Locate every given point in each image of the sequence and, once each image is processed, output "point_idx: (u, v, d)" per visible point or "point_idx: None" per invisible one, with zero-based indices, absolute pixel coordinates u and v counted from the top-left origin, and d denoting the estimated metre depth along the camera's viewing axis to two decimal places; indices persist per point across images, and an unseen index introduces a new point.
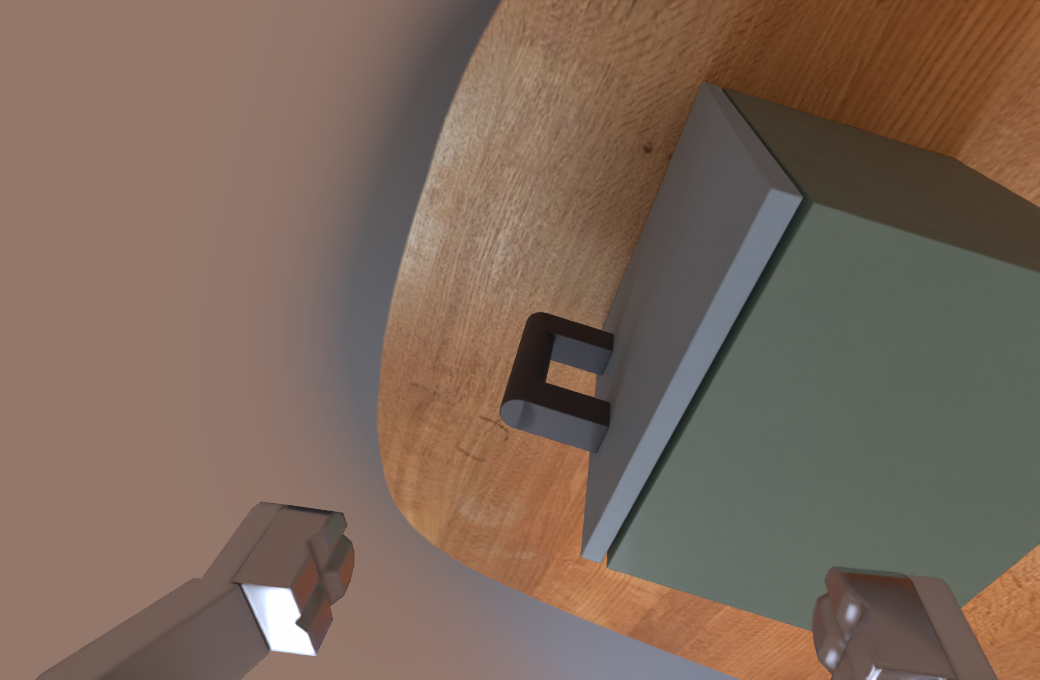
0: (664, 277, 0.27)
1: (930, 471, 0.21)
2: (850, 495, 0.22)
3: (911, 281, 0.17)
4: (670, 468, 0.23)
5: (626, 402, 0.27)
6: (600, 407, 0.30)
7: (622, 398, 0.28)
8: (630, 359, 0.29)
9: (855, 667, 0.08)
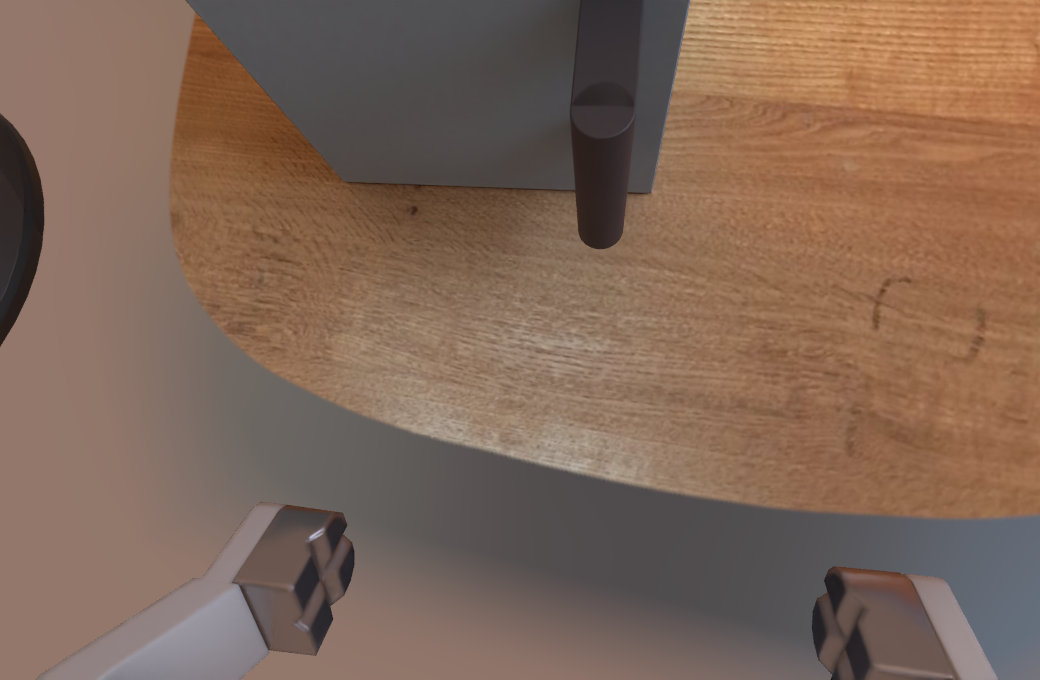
0: (386, 38, 0.22)
1: None
2: None
3: None
4: None
5: None
6: None
7: None
8: (500, 27, 0.21)
9: (855, 667, 0.08)
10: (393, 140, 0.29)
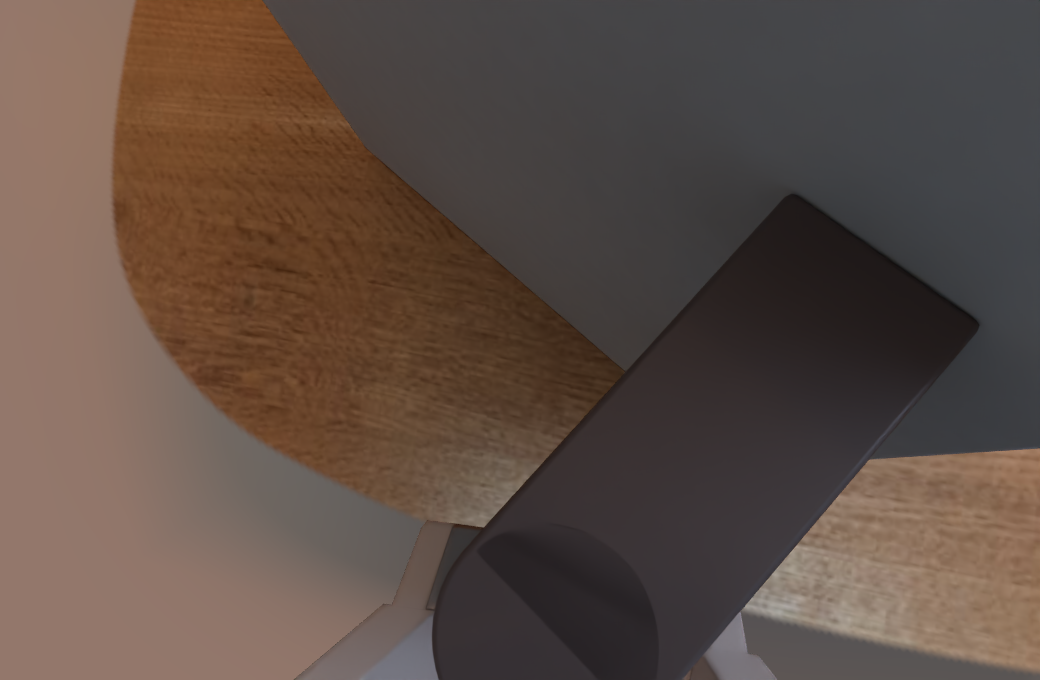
0: None
1: None
2: None
3: None
4: None
5: None
6: None
7: (635, 78, 0.06)
8: (567, 128, 0.08)
9: None
10: (410, 152, 0.17)
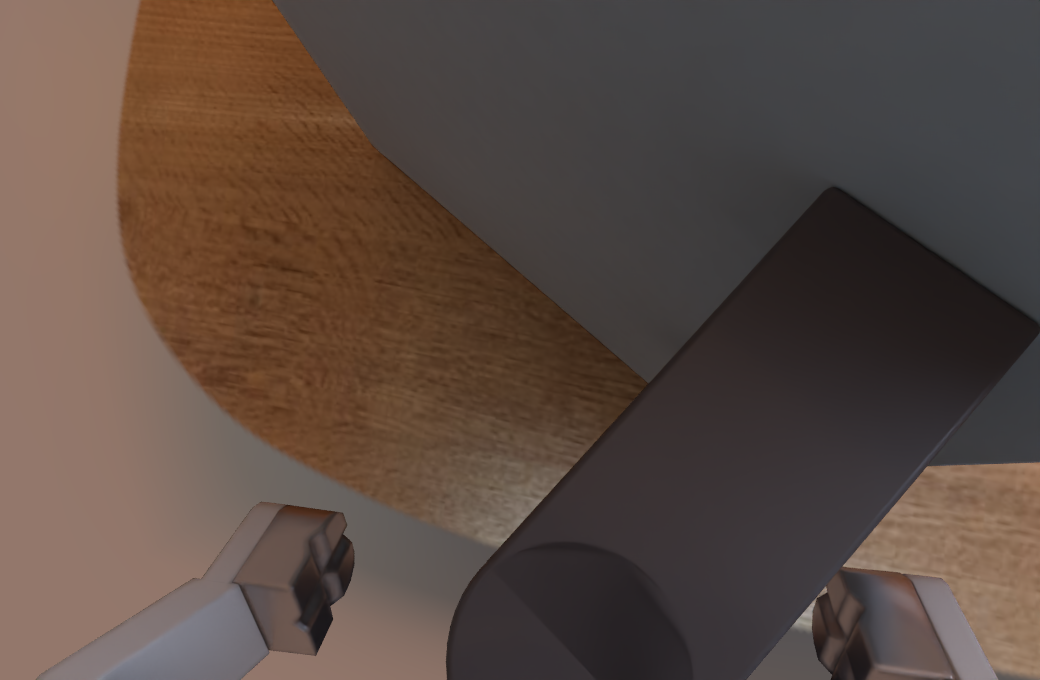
0: None
1: None
2: None
3: None
4: None
5: None
6: None
7: (662, 64, 0.06)
8: (585, 120, 0.08)
9: (855, 667, 0.08)
10: (418, 149, 0.17)
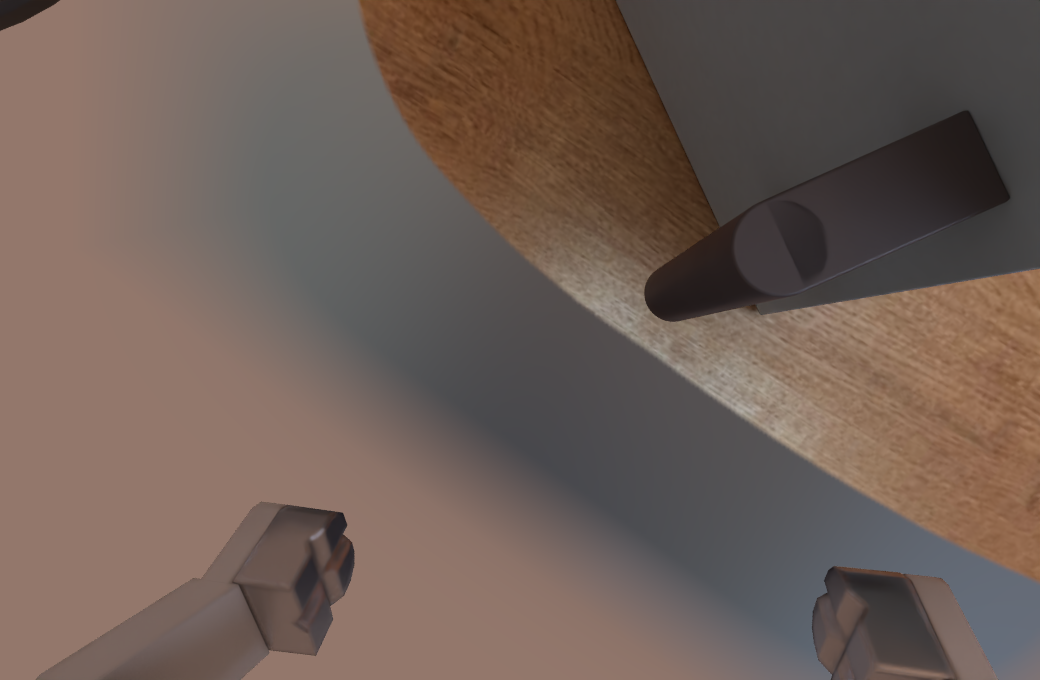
0: None
1: None
2: None
3: None
4: None
5: None
6: None
7: (928, 21, 0.12)
8: (853, 26, 0.14)
9: (855, 667, 0.08)
10: None
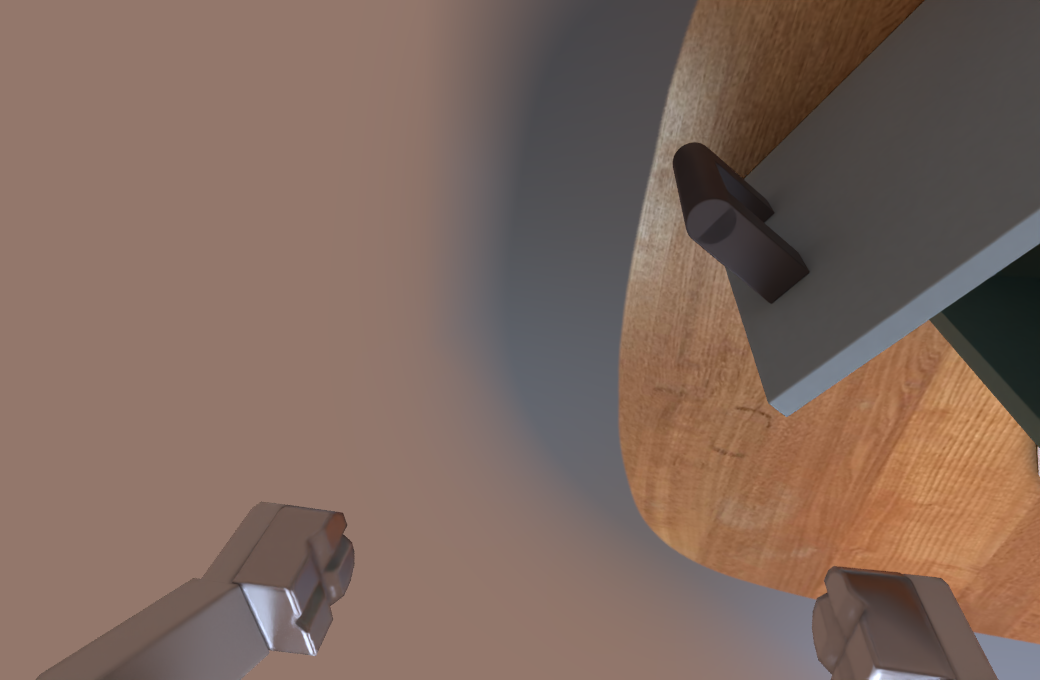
0: (960, 107, 0.22)
1: None
2: None
3: None
4: None
5: (873, 238, 0.22)
6: (794, 251, 0.25)
7: (851, 238, 0.23)
8: (860, 202, 0.24)
9: (855, 667, 0.08)
10: (934, 36, 0.27)
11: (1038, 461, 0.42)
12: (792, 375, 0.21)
